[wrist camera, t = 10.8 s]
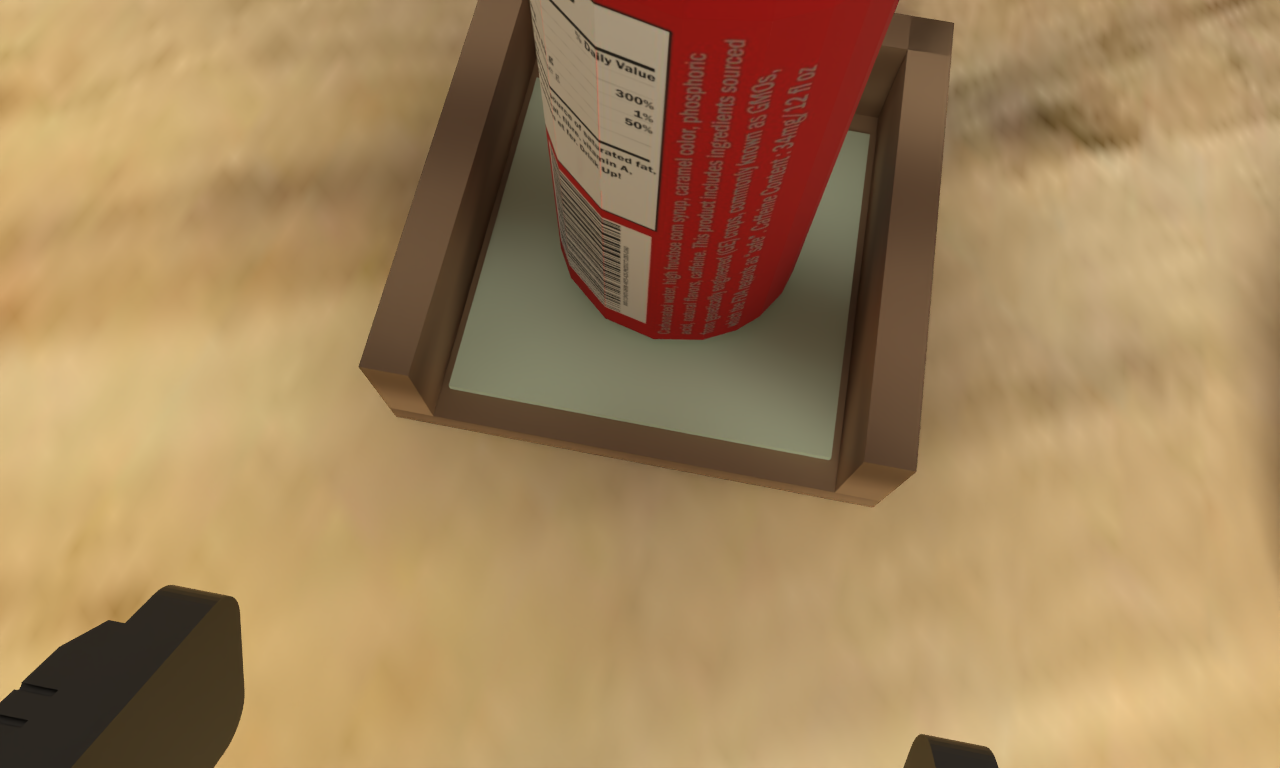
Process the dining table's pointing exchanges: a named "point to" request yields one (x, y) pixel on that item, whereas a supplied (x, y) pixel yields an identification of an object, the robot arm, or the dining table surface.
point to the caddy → (665, 368)
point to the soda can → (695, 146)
